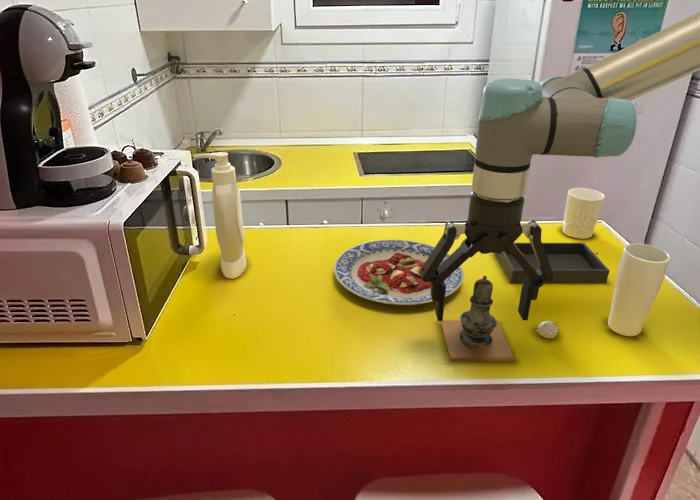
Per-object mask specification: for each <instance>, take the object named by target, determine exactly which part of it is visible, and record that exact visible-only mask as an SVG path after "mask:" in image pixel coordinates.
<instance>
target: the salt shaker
mask: <svg viewBox="0 0 700 500" xmlns="http://www.w3.org/2000/svg"><path fill="white" fill-rule="evenodd" d="M493 289H494V284H493V282H492V281H491V280H489V279H488V277H487V275H483V276H482V278H479V279H477V280H476V281H475V282H474V284H473V291H472V295H471V296H470V297H469V302H470V308H469V310H466V311H463V312H462V313H461V314H460V317H459V321H461V323H462V327H463V330H462V331H461V332H460V339H461V341H462V342H463V343H465V344H466V345H469V346H471V347H476V348H483V347H487V346H489V345H490V344H491V342H492V337H491V335H490V334H491V332H492V331H493V330H494V328H495V327H496V325H497V321H498V320H497V319H496V317H494V315H492V314H491V313H490V312H491V306H492V305H493V304H494V300H493V298H492V296H493Z"/></svg>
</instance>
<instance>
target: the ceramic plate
mask: <svg viewBox="0 0 700 500" xmlns="http://www.w3.org/2000/svg"><path fill="white" fill-rule="evenodd" d="M435 247H436V246H433V245H430V244H427V243H423V242H418V241H414V240H406V239H377V240H372V241H367V242H363V243H360V244H359V243H358V244H356V245H354V246H352V247H350V248H348V249H346V250H344V252H342V253H341V254H340V255H339V256H338V257H337V259H336V260H335V261H334V264H333V273H334V276H335V278H336V280H337V281H338V283H339V284H340V285H341V286H342V287H343V288H345V290H347V291H349V292H350V293H352V294H354V295H355V296H358V297H359V298H363V299H366V300H369V301H373V302H376V303H380V304H386V305H397V306H414V305H415V306H416V305H423V304H428V303H432V302H434V301H432V298H431V294H430V293H431V282H424V281H423V280H422V276H421V272H420V270H421V268H422V267H423V265H424V264H425V262H426V261H427V259H428V257H429V256H430V254H431V253H432V251H433V250H434V248H435ZM450 255H451V254H450V253H449V252H448V253H447V255H446V256H445V258H444V259H443V261H442V262H441V264H442V263H443V262H444V261H445V260H446V259H447V258H448V257H449V256H450ZM441 264H440V265H441ZM440 265H439V266H440ZM464 274H465V273H464V269H463V267H462V265H461V266H460V267H458V268H457V269H456V270H455V271H454V272H453V273H452V274H451V275H450V276H449V277H448V278H447V279H446V280H445V281H444V282H445V285H446V291H445V298H446V297H448V296H450V295H452V294H453V293H455V292H456V291H458V289H459V288H460V287H461V285H462V283H463V282H464V281H463V280H464V276H465V275H464Z"/></svg>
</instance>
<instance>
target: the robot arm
mask: <svg viewBox="0 0 700 500" xmlns="http://www.w3.org/2000/svg"><path fill="white" fill-rule="evenodd" d="M698 71H700V11H699V12H696V13H695V14H692V15H690V16H689V17H688V16H687V17H686V18H684V19H682V20H681V21H678V22H676V23H674V24H671V25H669V26H667V27H666V28H664V29H661V30H660V31H657V32H655V33H654V34H651V35H649V36H647V37H645V38H643V39H641V40H639V41H636V42H635V43H632V44H631V45H628V46H626V47H625V48H622V49H620V50H618V51H616V52H614V53H612V54H610V55H608V56H607V57H604V58H602V59H600V60H598V61H596V62H594V63H591V64H590V65H588V66H585V67H583V68H581V69H579V70H576V71H574V72H572V73H571V74H568V75H565V76H551V77H547V78H545V79H543V80H542V81H540V82H538V81H535V80H531V79H520V78H498V79H494V80H491V81H489V82H488V83H487V84H485V86H484V88H483V91H482V97H481V104H480V110H479V113H478V123H477V133H476V144H475V154H474V164H473V170H472V171H473V173H472V180H471V186H470V189H471V190H472V192H470V196H469V204H468V214H467V220H466V222H465V224H457V223H454V222H453V220H448V221H446V222H445V224H444V225H445V226H444V230H443V234H442V235H441V237H440V239H439V240H438V241H437V243H436V245H435V246H434V247H435V248H434V250H433V251H432V253H431V254H430V256H429V257H428V259H427V261H426V262H425V264H424V265H423V267H422V268H421V270H420V272H421V276H422V280H423V281H424V282H431V293H430V294H431V298H432V301H433V302H435V309H434V312H435V315H436V316H435V317H436V320H437V322H441V321H444V313H445V312H444V309H445V301H446V297H445V291H446V285H445V282H444V281H445V280H446V279H447V278H448V277H449V276H450V275H451V274H452V273H453V272H454V271H455V270H456V269H457V268H458V267H460V266H461V267H462V265H463V264H464V263H465V262H466V261H467V260H469V258H473V257H474V256H475V255H476V254H477V253H480V254H481V255H487V254H492V253H493V254H495V253H496V254H502V252H504V251H506V250H508V251H509V253H510V254H511V255H512V256H513V257H514V258H515V260H516V261H517V262H518V263H519V265H520V266H521V267H522V268H523V270H524V271H525V272H526V273H527V275H528V276H529V277H530V278H529V277H524V278H523V283H521V290H520V294H519V295H520V296H519V302H518V308H517V312H518V314H519V316H520V318H521V320H522V321H528V320H529V315H530V311H531V310H530V309H531V305H532V304H531V302H532V301H536V300H537V299H538V296H539V291H540V288H541V287H543V286H544V284H545V283H543V281H545V280H548V281H552V280H553V279H554V274H553V272H552V269H551V266H550V263H549V261H548V258H547V255H546V253H545V250H544V247H543V244H542V243H543V242H542V231H543V230H542V228H541V226H540V225H539V223H538V222H537V221H536V220H535V219H531V220H530V221H528V223H523V224H521V221H522V217H523V211H524V204H525V197H524V195H526V193H527V188H528V187H527V186H528V182H529V181H528V180H529V174H530V168H531V163H532V158H533V156H534V155H538V156H564V157H565V156H566V157H588V158H589V157H590V158H595V159H597V158H606V157H619V156H621V155H623V154H625V153H626V152H627V151H628V150H629V148H630V147H631V145H632V143H633V141H634V138H635V134H636V130H637V124H638V123H637V121H638V117H637V116H638V115H637V110H636V108H635V105H634V104H633V102H632V101H634V100H636V99H638V98H641V97H642V96H645V95H647V94H649V93H652V92H654V91H656V90H658V89H660V88H661V89H662V88H663V87H665V86H668V85H670V84H672V83H674V82H677V81H678V80H680V79H683V78H685V77H687V76H690V75H693V74H695V73H696V72H698ZM522 234H524V236H525V237H526V239H528V240H529V243H531V246H532V248H533V251H534V254H535V256H536V259H537V261H538V264H539V267H540V269H541V270H538V271H536V270H535V269H534V268H533V267H532V265H531V264H530V263H529V262H528V260H527V259H526V258H525V256H524V255H523V254H522V253H521V251H520V250H519V249H518V248H517V246H516V245H515V244H514V243H516V242H517V240H518V239H519V238H520V237H521V235H522ZM461 235H465V239H463V240H462V242H461V243H460V245H459V246H458V247H457V248H456V249H455V250H454V251H453V252H452V253H450V254H449V252H450V250H451V249H452V247H453V246H454V243H455V240H458V239H459V238H460V236H461ZM447 253H448V254H449V255H450V256H449V257H448V258H447V259H446V260H445V261H444V262H443V263H442V264H441V262H442V261H443V259H444V258H445V256H446V255H447ZM440 264H441V265H440ZM439 265H440V266H439Z"/></svg>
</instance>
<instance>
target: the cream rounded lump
mask: <svg viewBox="0 0 700 500" xmlns="http://www.w3.org/2000/svg"><path fill="white" fill-rule="evenodd" d="M559 326H560V324H559V321H555V322H553V321H550V320H545V321H543V322H541V323H540V324H539V325H538V327H536V328H535V330H536V331H537V333H538V335H539V336H540V337H542V338H544V339H554V338H556V337H557V335H558V333H559V331H560V330H561V328H558V327H559Z"/></svg>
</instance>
